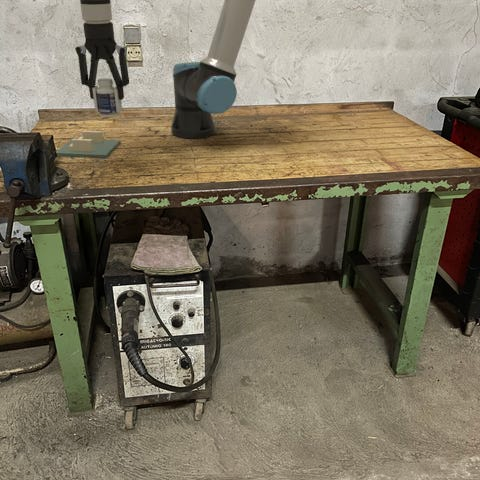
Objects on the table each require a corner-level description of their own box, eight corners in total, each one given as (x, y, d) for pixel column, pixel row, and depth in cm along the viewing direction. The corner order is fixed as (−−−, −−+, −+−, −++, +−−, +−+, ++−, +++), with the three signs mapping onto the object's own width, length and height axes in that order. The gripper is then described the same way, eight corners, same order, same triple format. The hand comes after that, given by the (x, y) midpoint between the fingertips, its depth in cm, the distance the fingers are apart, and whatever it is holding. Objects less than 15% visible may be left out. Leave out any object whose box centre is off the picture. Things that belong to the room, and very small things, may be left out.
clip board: (120, 143, 161) (119, 129, 159) (106, 158, 149) (104, 143, 147) (73, 141, 162) (71, 127, 160) (54, 156, 150) (52, 141, 148)
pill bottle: (115, 117, 139) (109, 81, 134) (97, 117, 140) (91, 81, 135) (122, 112, 143) (117, 77, 138) (105, 112, 144) (99, 77, 139)
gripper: (136, 20, 132) (144, 108, 143) (69, 19, 133) (82, 106, 145) (128, 23, 125) (137, 115, 137) (57, 22, 127) (72, 113, 138)
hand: (108, 110), depth 141 cm, fingers closed on pill bottle, 5 cm apart
